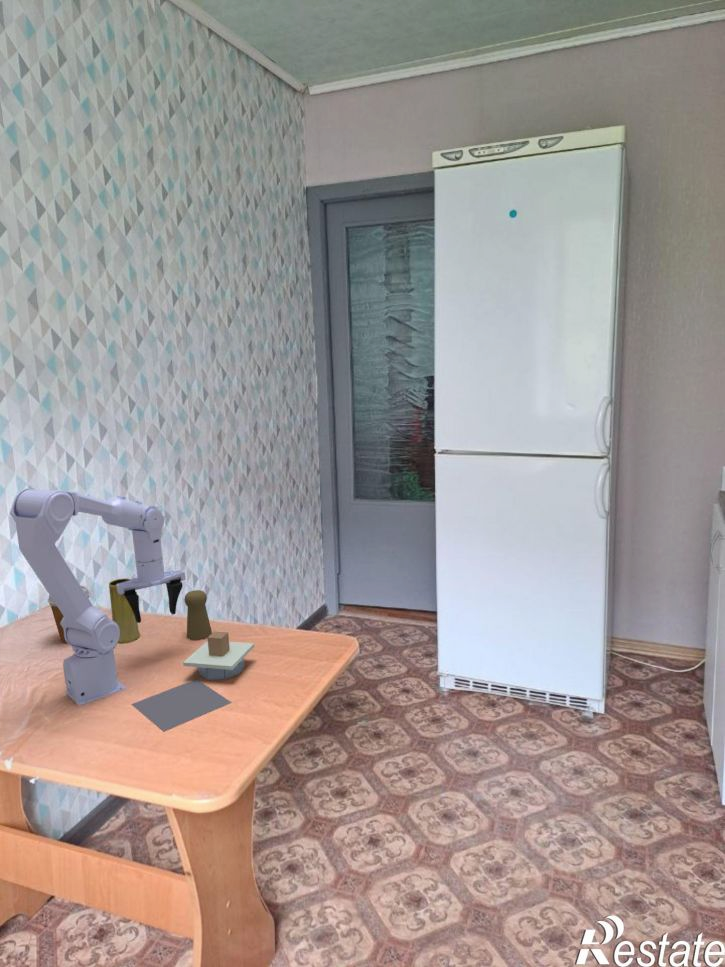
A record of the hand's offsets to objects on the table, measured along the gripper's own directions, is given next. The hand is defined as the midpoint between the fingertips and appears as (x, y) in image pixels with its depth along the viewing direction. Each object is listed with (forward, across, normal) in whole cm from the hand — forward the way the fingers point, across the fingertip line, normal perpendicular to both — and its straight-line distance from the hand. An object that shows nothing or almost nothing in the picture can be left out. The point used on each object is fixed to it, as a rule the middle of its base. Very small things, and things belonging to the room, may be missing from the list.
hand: (155, 617), depth 151 cm
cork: (+10, +11, +6) cm, 16 cm away
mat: (+9, -3, -25) cm, 27 cm away
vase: (+10, -4, +16) cm, 19 cm away
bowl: (+9, +9, -16) cm, 20 cm away
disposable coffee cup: (+10, -14, +24) cm, 29 cm away
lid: (+6, +8, -16) cm, 19 cm away
